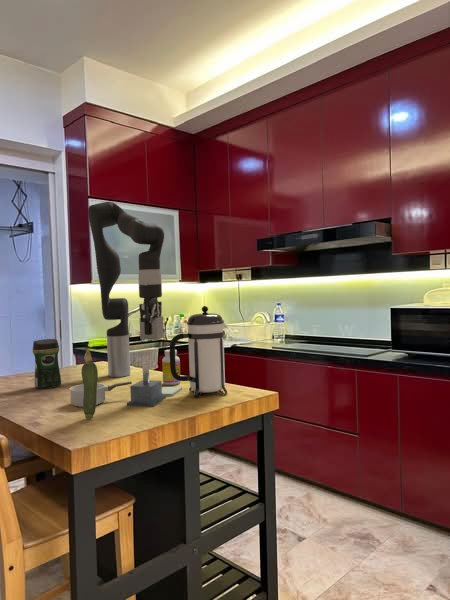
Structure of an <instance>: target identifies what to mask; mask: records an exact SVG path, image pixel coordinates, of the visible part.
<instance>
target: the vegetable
mask: <svg viewBox="0 0 450 600" xmlns="http://www.w3.org/2000/svg"><path fill="white" fill-rule="evenodd" d="M83 357H84V358H83V359H84V362H85V363H83V365H82V367H81V378H82V384H83V385H84V398H83V407H82V408H83V413H84V416H85V417H84V418H85V419H86V420H88V419H89V420H92V419H93V417H94V415H95V413H96V407H97V405H96V399H97V397H96V394H97V383H99V382H98V379H99V377H98V376H99V374H98V372H99V371H98V367H97V364H95V362H94V361H93V358H92V354H91V352H90V349H89V348H88V349H86V351H85V354H84V356H83Z"/></svg>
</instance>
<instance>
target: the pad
mask: <svg viewBox="0 0 450 600" xmlns="http://www.w3.org/2000/svg"><path fill="white" fill-rule="evenodd" d="M182 390H183V387H182V386H162V395H166V397H175V395H176V394H178V393H179V392H180V391H182Z"/></svg>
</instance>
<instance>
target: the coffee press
mask: <svg viewBox="0 0 450 600" xmlns="http://www.w3.org/2000/svg"><path fill="white" fill-rule="evenodd" d="M200 310H201V311H202V313H196V314H193V315H192V314H191V315H190V316H189V317H188V319H187V321H186V325H187V333H178V334H175V335H174V336H173V337H172V338H171V339H170V340H171V341H170V342H169V350H170V370H171V374H172V376H173V377H174V378H175V379H176V380H179V381H180V382H189V389H188V390H189V393H193V392H194V394H193V397H194V398H195V399H196V398H197V399H199V398H200V397H201V395H202V394H203V393H216V392H219V393H220V394H221V395H222V396H225V395H228V390H227V389H226V387H225V386H226V377H225V345H224V337H225V331H224V330H225V329H228V325H227V324H226V323H225V320H223V317H222V316H221V315H220V314H218V313H211V312H210V313H209V312H208V310H209V307H208V306H206V305H203V306H202V307H201V309H200ZM183 339H187V340H188V362H189V363H188V364H189V366H188V367H189V374H188V375H180V376H179V375H178V374H177V373H176V366H175V350H176V344H177V342H178V341H179V340H183Z"/></svg>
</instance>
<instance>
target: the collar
mask: <svg viewBox="0 0 450 600" xmlns="http://www.w3.org/2000/svg"><path fill="white" fill-rule="evenodd" d="M143 318H144V316H143ZM164 327H165V326H164V316H163V315H161V316H158V317H152V318H151V329H152V334H151V335H145V328H144V323H143V322H141V318H139V338H140V340H159V339H161V338H164V337H165V331H164V330H165V329H164Z"/></svg>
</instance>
